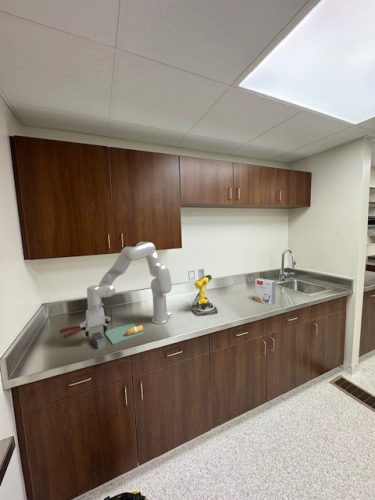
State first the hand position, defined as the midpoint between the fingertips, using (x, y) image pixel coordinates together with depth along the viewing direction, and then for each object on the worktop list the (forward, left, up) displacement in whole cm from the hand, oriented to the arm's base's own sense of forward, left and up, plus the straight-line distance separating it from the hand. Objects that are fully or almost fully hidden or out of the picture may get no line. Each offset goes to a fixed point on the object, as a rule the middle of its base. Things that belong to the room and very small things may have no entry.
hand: (96, 334), depth 126 cm
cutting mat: (-16, 0, -5) cm, 17 cm away
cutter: (0, +2, -5) cm, 5 cm away
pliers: (+7, -24, -5) cm, 26 cm away
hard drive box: (-133, +25, -5) cm, 136 cm away
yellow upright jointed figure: (-81, +5, -5) cm, 82 cm away
